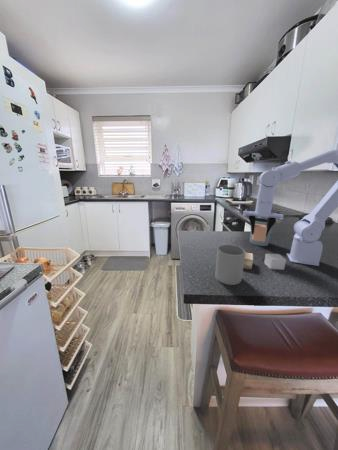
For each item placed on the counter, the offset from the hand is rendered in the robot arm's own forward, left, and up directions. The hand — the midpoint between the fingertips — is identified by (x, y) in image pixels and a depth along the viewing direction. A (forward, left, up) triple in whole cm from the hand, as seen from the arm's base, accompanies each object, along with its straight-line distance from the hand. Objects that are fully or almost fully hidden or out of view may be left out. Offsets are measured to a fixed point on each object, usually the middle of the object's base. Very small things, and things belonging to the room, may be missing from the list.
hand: (259, 234), depth 79 cm
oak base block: (+5, +12, -9) cm, 16 cm away
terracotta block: (0, 0, -2) cm, 2 cm away
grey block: (-6, +9, -9) cm, 14 cm away
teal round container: (-3, -16, -9) cm, 19 cm away
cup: (+10, +24, -9) cm, 28 cm away
